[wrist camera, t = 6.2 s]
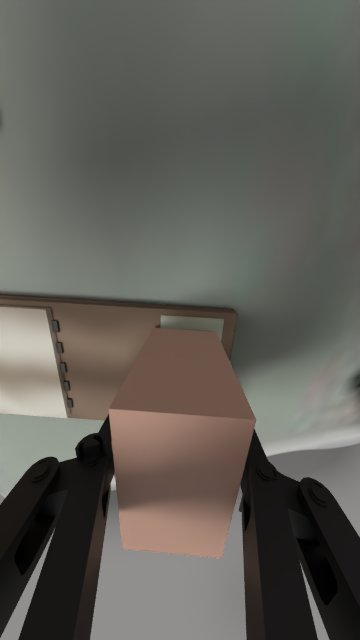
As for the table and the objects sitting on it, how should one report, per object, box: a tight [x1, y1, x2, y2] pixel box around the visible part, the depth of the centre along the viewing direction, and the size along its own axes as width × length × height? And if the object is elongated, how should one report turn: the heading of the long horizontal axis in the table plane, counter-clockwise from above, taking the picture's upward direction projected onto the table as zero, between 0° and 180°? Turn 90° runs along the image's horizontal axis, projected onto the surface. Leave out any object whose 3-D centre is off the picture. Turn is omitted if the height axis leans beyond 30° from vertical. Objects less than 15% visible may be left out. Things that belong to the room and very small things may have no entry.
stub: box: [109, 328, 256, 558], centre depth 11 cm, size 9×5×8 cm, turn 177°
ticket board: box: [0, 295, 237, 420], centre depth 16 cm, size 12×28×2 cm, turn 87°
